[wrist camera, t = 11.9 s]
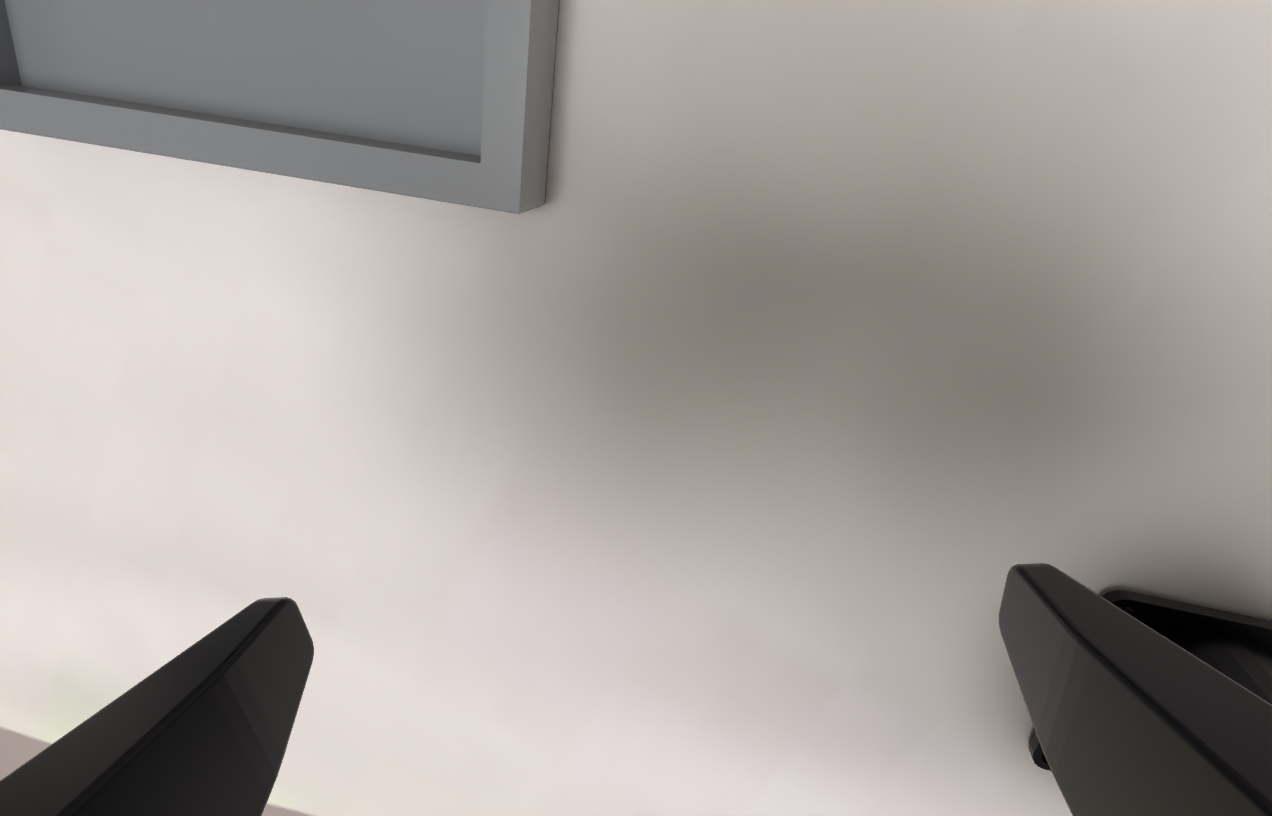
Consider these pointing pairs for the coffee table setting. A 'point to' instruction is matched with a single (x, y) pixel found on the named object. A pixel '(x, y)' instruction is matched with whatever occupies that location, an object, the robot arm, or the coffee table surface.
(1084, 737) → the robot arm
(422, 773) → the coffee table surface
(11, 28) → the tray
